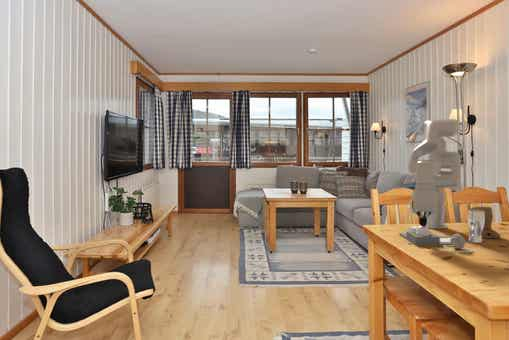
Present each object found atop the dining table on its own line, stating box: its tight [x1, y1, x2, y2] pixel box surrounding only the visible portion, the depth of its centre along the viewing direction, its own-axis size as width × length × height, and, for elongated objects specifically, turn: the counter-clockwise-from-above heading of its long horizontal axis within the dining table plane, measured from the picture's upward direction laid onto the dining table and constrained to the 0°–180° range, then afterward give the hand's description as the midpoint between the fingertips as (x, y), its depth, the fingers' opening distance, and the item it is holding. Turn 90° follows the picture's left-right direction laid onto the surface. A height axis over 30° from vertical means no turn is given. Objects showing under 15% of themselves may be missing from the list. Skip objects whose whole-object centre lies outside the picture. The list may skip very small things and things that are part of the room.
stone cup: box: [470, 205, 502, 239], centre depth 192 cm, size 15×12×15 cm
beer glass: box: [467, 209, 485, 244], centre depth 181 cm, size 7×7×15 cm
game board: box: [398, 225, 475, 253], centre depth 179 cm, size 31×21×5 cm
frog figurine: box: [450, 233, 467, 250], centre depth 168 cm, size 6×7×7 cm
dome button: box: [416, 225, 431, 236], centre depth 179 cm, size 6×6×6 cm
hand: (422, 225), depth 179 cm, fingers closed
